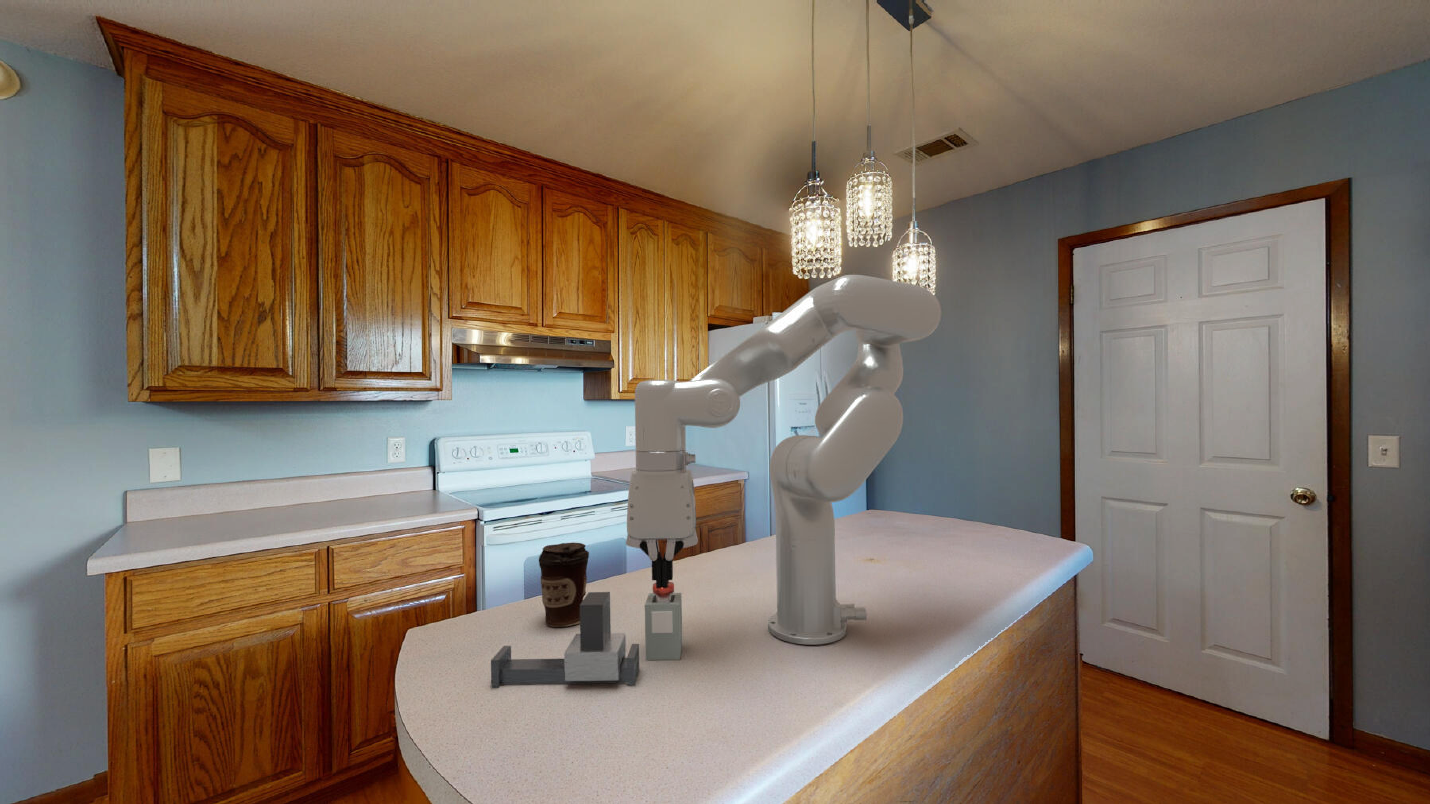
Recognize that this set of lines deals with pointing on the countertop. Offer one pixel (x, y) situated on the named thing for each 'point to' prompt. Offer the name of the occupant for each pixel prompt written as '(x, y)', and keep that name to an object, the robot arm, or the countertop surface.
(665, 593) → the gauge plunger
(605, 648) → the carriage
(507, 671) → the rail
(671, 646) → the grey square housing
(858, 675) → the countertop surface
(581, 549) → the coffee cup
